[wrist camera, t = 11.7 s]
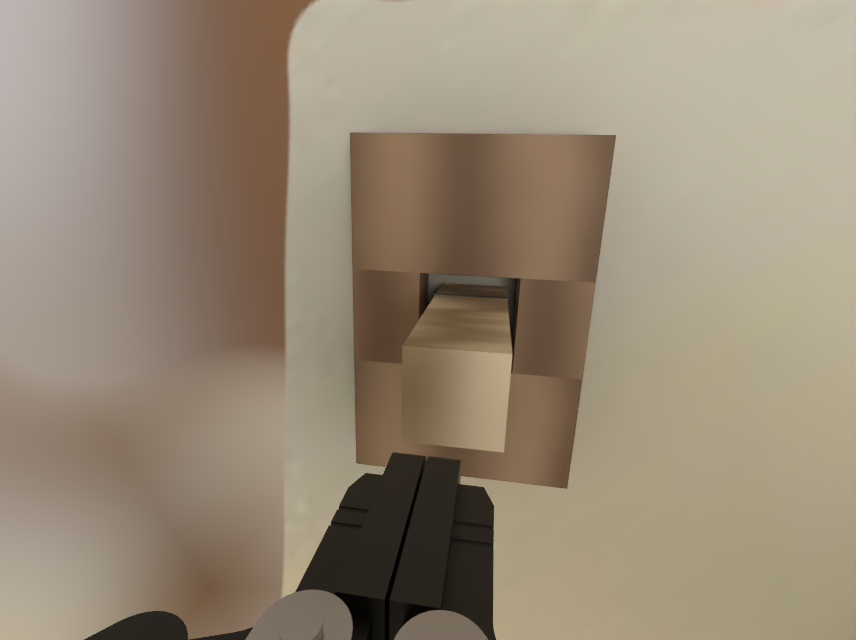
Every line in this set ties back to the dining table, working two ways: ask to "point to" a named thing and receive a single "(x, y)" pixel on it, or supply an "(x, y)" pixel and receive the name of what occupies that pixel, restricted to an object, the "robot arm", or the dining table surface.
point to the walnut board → (479, 256)
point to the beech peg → (458, 370)
